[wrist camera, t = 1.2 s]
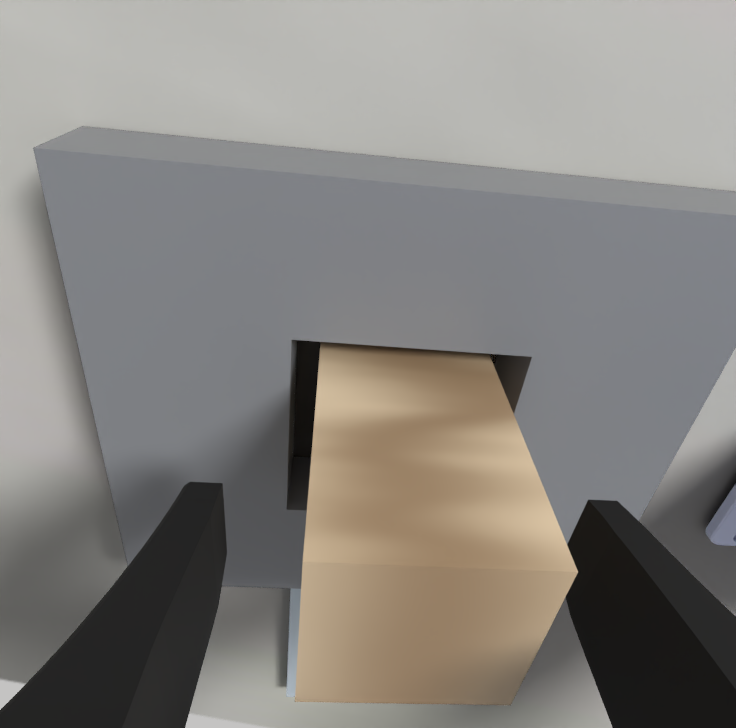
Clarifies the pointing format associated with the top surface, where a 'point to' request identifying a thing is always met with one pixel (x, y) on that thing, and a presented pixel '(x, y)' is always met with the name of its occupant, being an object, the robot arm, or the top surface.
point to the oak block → (422, 534)
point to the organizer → (374, 313)
